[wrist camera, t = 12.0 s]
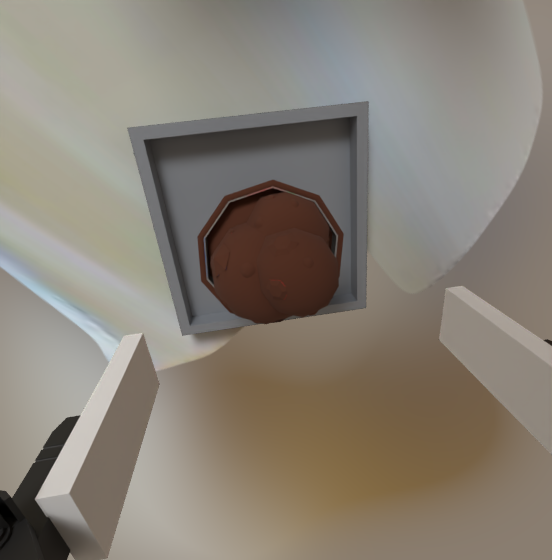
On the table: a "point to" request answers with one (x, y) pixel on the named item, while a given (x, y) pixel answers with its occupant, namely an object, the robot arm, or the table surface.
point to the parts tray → (246, 173)
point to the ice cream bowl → (271, 253)
